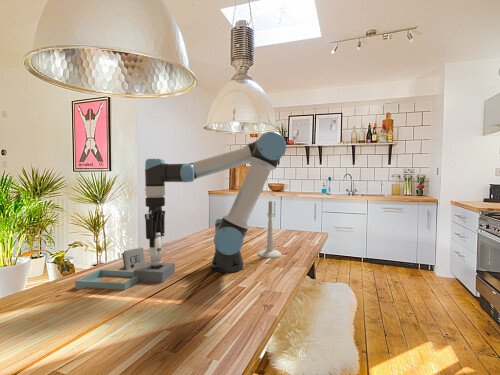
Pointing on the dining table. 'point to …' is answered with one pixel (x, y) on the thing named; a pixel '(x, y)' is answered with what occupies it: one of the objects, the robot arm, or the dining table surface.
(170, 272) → the fuse holder
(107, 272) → the parts tray
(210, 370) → the dining table surface
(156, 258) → the cylinder
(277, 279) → the dining table surface
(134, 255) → the electrical switch
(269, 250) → the candlestick
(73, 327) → the dining table surface
